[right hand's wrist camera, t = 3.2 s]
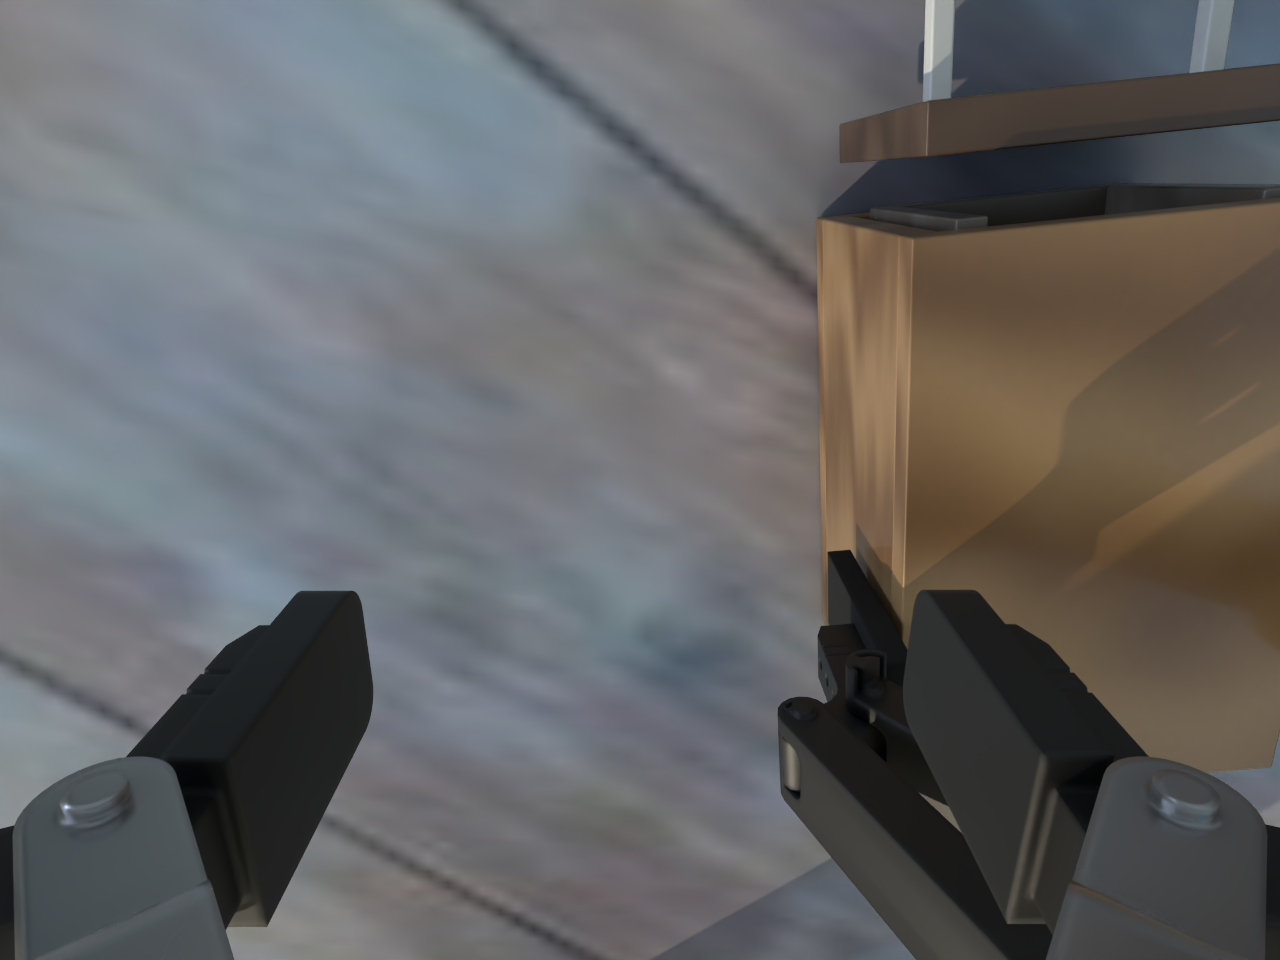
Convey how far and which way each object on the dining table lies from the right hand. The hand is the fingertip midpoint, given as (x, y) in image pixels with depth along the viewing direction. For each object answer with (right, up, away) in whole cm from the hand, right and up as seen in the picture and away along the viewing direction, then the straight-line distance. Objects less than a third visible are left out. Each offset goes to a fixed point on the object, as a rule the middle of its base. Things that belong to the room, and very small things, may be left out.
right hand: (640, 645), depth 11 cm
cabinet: (+12, +5, +19) cm, 23 cm away
